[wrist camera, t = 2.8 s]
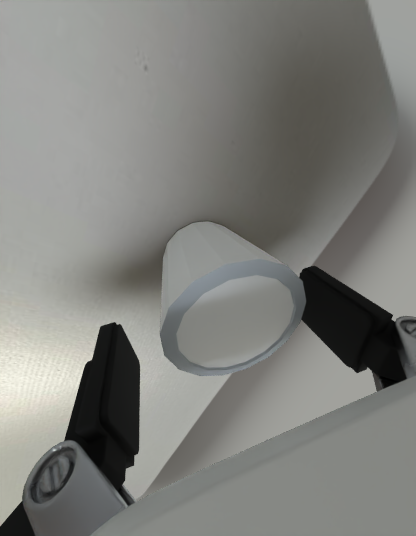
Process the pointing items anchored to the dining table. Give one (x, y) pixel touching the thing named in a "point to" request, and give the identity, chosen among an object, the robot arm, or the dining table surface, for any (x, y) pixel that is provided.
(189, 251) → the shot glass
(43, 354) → the dining table surface
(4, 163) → the dining table surface
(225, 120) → the dining table surface
